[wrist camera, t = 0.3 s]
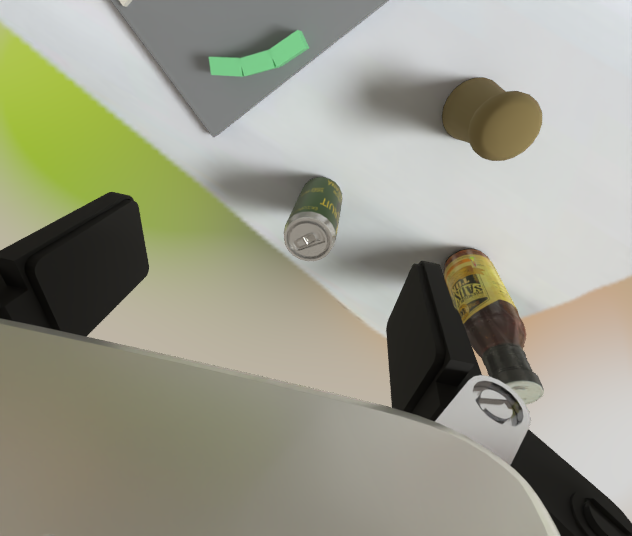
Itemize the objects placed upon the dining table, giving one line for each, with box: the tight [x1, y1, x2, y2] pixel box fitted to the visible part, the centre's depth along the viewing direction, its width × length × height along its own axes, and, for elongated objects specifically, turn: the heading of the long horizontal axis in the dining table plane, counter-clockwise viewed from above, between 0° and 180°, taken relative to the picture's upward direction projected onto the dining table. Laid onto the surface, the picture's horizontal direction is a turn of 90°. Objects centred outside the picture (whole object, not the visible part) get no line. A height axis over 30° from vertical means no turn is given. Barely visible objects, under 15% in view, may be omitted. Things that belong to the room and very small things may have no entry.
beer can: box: [284, 177, 342, 261], centre depth 36 cm, size 5×5×12 cm
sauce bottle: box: [444, 249, 544, 405], centre depth 36 cm, size 6×6×20 cm
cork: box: [442, 78, 542, 161], centre depth 28 cm, size 6×6×11 cm
